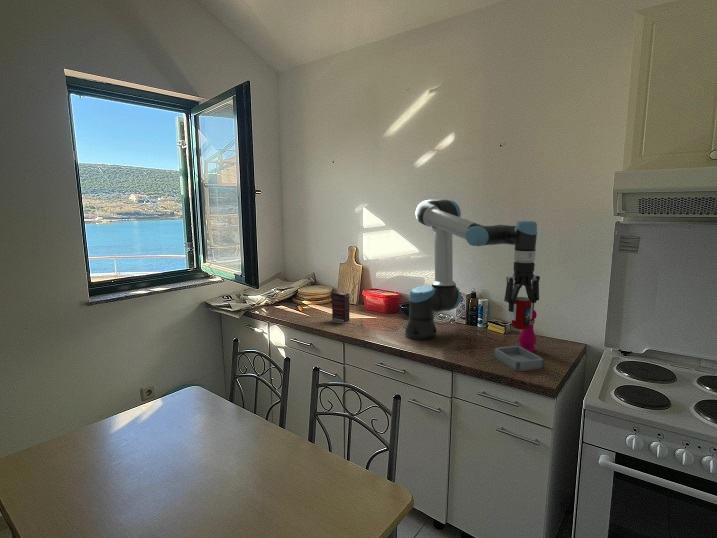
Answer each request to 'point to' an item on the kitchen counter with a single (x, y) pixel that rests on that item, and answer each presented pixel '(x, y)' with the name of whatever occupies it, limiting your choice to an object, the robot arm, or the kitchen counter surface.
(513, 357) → the tray
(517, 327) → the beverage can
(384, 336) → the kitchen counter surface
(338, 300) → the supplement box
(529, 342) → the pepper mill
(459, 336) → the kitchen counter surface
